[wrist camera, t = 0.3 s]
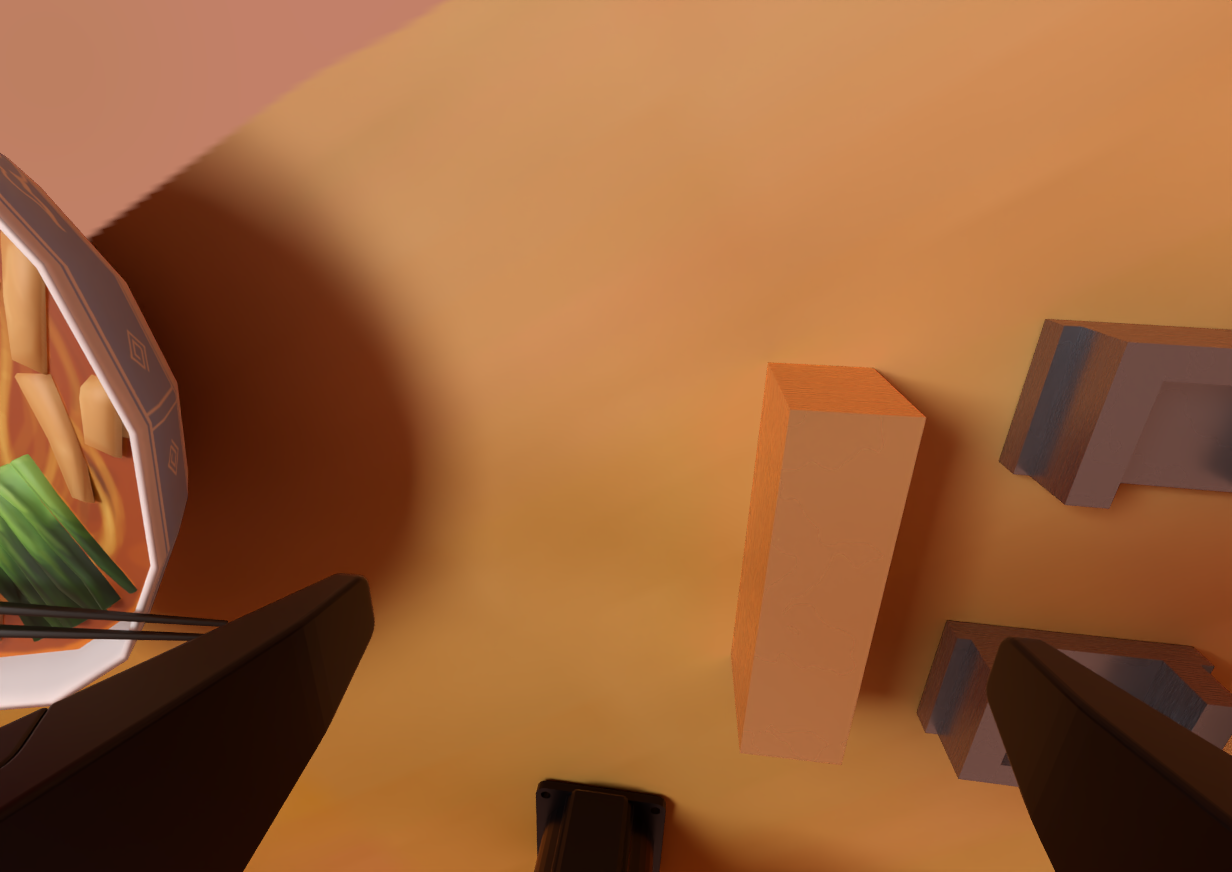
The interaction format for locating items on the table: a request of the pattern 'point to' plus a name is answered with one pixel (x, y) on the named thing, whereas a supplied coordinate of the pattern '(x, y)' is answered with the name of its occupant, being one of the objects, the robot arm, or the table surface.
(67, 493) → the ramen bowl
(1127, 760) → the robot arm
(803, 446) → the brown rectangular block
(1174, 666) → the grey frame
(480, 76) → the table surface
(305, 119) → the table surface
